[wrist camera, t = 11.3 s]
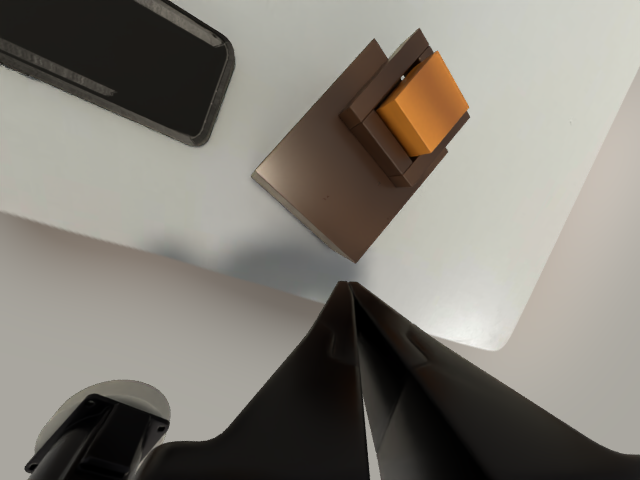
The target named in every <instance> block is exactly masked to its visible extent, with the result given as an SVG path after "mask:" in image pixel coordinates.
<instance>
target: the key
mask: <svg viewBox="0 0 640 480" xmlns="http://www.w3.org/2000/svg"><path fill="white" fill-rule="evenodd" d="M468 108H469V106H468V104H467V102H466V100H465V99H464V97H463V95H462V93H461V91H460V90H459V88H458V86H457V84H456V82H455V81H454V79H453V77H452V75H451V74H450V72H449V70H448V68H447V66H446V65H445V63H444V61H443V59H442V57H441V56H440V54H439V52H438V51H436V52H434V53H433V54H432V55H430V56H429V57H428V58H426V59H425V60H423V61H422V62H421V63H419V64H418V65H416V66H415V67H414V68H413V69H412V70H411V71H410V72H409V73H408V74H407V76H406V77H405V78H404V79H403V80H402V81H401V82H400V84H399V85H398V86H397V87H396V88H395V89H394V90H393V92H392V93H391V94H390V95H389V96H388V97H387V99H386V100H385V101H384V102H383V103H382V104H381V105H380V107H379V108H378V109H377V110H376V112H377V114H378V115H379V117H380V118H381V119H382V121H383V122H384V123H385V125H386V126H387V127H388V129H389V130H390V131H391V133H392V134H393V136H394V137H395V138H396V140H397V141H398V142H399V144H400V145H401V146H402V148H403V149H404V150H405V152H406V153H407V155H408V156H409V157H414V156H419V155H423V154H428V153H432V151H433V150H434V149H435V148H436V147H437V145H438V144H439V143H440V142H441V141H442V139H443V138H444V137H445V136H446V135H447V133H448V132H449V131H450V130H451V129H452V127H453V126H454V125H455V124H456V123H457V121H458V120H459V119H460V118H461V117H462V116H463V114H464V113H465V112H466V111H467V110H468Z"/></svg>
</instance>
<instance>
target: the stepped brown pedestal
mask: <svg viewBox="0 0 640 480" xmlns="http://www.w3.org/2000/svg"><path fill="white" fill-rule="evenodd" d="M433 53H434V52H433V51H432V49H431V47H430V46H429V44H428V42H427V40H426V38H425V37H424V35H423V33H422V31H421V29H420V28H419V29H417V30H416V31H415V32H414V33H413V34H412V35H411V36H410V37H408V38H407V39H406V40H405V41H404V42H403V43H402V44H401V45H400V46H399V47H398V48H397V50H396V51H395V52H394V53H393V54H392V55H391V56H390V57H389V59H388V58H387V57H386V55H385V54H384V52H383V51H382V49H381V48H380V46H379V44H378V43H377V41H376V40H375V39H373V40H372V41H371V42H370V43H369V44H368V45H367V47H366V48H365V49H364V50H363V51H362V52H361V53H360V54H359V55H358V57H357V58H356V59H355V60H354V61H353V62H352V63H351V64H350V65H349V67H348V68H347V69H346V70H345V71H344V72H343V73H342V74H341V75H340V76H339V78H338V79H337V80H336V81H335V82H334V83H333V84H332V85H331V86H330V88H329V89H328V90H327V91H326V92H325V93H324V94H323V95H322V96H321V98H320V99H319V100H318V101H317V102H316V103H315V104H314V105H313V106H312V107H311V109H310V110H309V111H308V112H307V113H306V114H305V115H304V116H303V117H302V119H301V120H300V121H299V122H298V123H297V124H296V125H295V126H294V127H293V129H292V130H291V131H290V132H289V133H288V134H287V135H286V136H285V137H284V139H283V140H282V141H281V142H280V143H279V144H278V145H277V146H276V147H275V148H274V150H273V151H272V152H271V153H270V154H269V155H268V156H267V157H266V158H265V160H264V161H263V162H262V163H261V164H260V165H259V166H258V167H257V168H256V170H255V171H254V172H253V174H252V175H251V177H252V178H253V179H254V180H255V181H256V182H257V183H259V184H260V185H261V186H262V187H263V188H264V189H265V190H266V191H267V192H269V193H270V194H271V195H272V196H273V197H274V198H275V199H276V200H277V201H279V202H280V203H281V204H282V205H283V206H284V207H285V208H286V209H287V210H289V211H290V212H291V213H292V214H293V215H294V216H295V217H296V218H297V219H298V220H300V221H301V222H302V223H303V224H304V225H305V226H306V227H307V228H308V229H310V230H311V231H312V232H313V233H314V234H315V235H316V236H317V237H318V238H320V239H321V240H322V241H323V242H324V243H325V244H326V245H327V246H328V247H329V248H331V249H332V250H334V251H335V252H337V253H339V254H340V255H342V256H344V257H345V258H347V259H349V260H350V261H352V262H354V263H355V264H356V263H357V262H358V260H359V259H360V258H361V257H362V256H363V254H364V253H365V252H366V251H367V249H368V248H369V247H370V246H371V245H372V243H373V242H374V241H375V240H376V239H377V237H378V236H379V235H380V234H381V233H382V231H383V230H384V229H385V228H386V227H387V225H388V224H389V223H390V222H391V220H392V219H393V218H394V217H395V216H396V214H397V213H398V212H399V211H400V210H401V208H402V207H403V206H404V205H405V204H406V202H407V201H408V200H409V199H410V197H411V196H412V195H413V194H414V193H415V191H416V190H417V189H418V188H419V187H420V185H421V184H422V183H423V182H424V181H425V179H426V178H427V177H428V176H429V175H430V173H431V172H432V171H433V170H434V168H435V167H436V166H437V165H438V164H439V162H440V161H441V160H442V159H443V158H444V156H445V155H446V154H447V153H448V151H447V149H446V146H447V144H448V143H449V142H450V141H451V140H452V138H453V137H454V136H455V135H456V134H457V132H458V131H459V130H460V129H461V128H462V126H463V125H464V124H465V123H466V122H467V120H468V119H469V118H470V116H469V114H468V112H467V111H466V112H465V113H464V114H463V116H462V117H461V118H460V119H459V120H458V121H457V123H456V124H455V125H454V126H453V127H452V129H451V130H450V131H449V132H448V133H447V135H446V136H445V137H444V138H443V139H442V141H441V142H440V143H439V144H438V145H437V147H436V148H435V149H434V150H433V151H432V153H428V154H423V155H419V156H414V157H409V156H408V155H407V153H406V152H405V150H404V149H403V148H402V146H401V145H400V144H399V142H398V141H397V140H396V138H395V137H394V136H393V134H392V133H391V131H390V130H389V129H388V127H387V126H386V125H385V123H384V122H383V121H382V119H381V118H380V117H379V115H378V114H377V112H376V110H377V109H378V108H379V107H380V105H381V104H382V103H383V102H384V101H385V100H386V99H387V97H388V96H389V95H390V94H391V93H392V92H393V90H394V89H395V88H396V87H397V86H398V85H399V84H400V82H401V81H402V80H401V77H402V76H403V75H404V77H406V76H407V74H408V73H409V72H410V71H411V70H412V69H413V68H414V67H415V66H416V65H418V64H419V63H421V62H422V61H423V60H425V59H426V58H428V57H429V56H430V55H432V54H433Z"/></svg>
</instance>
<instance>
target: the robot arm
mask: <svg viewBox="0 0 640 480" xmlns="http://www.w3.org/2000/svg"><path fill="white" fill-rule="evenodd" d="M362 394H363V395H362ZM363 398H364V402H365V407H366V411H367V415H368V420H369V424H370V429H371V432H372V437H373V442H374V446H375V450H376V453H377V459H378V464H379V470H380V476H381V480H640V455H630V454H622V453H619V452H615V451H612V450H610V449H608V448H606V447H604V446H601V445H599V444H598V443H596V442H594V441H592V440H591V439H589V438H588V437H586V436H584V435H583V434H581V433H580V432H578V431H577V430H575V429H573V428H572V427H570V426H569V425H567V424H566V423H564V422H563V421H561V420H560V419H558V418H556V417H555V416H553V415H552V414H550V413H548V412H547V411H546V410H544V409H542V408H541V407H539V406H538V405H536V404H534V403H533V402H532V401H530V400H528V399H527V398H525V397H524V396H522V395H521V394H519V393H518V392H516V391H514V390H513V389H511V388H510V387H508V386H507V385H505V384H503V383H502V382H500V381H499V380H497V379H496V378H494V377H492V376H491V375H489V374H488V373H486V372H485V371H483V370H481V369H480V368H478V367H477V366H475V365H474V364H472V363H471V362H469V361H468V360H466V359H465V358H462V357H461V356H460V355H458V354H457V353H455V352H454V351H452V350H451V349H449V348H447V347H446V346H444V345H443V344H441V343H440V342H438V341H437V340H435V339H434V338H432V337H431V336H430V335H428V334H427V333H425V332H424V331H423V330H421V329H420V328H419V327H417V326H416V325H415V324H412V323H411V322H410V321H409V320H407V319H406V318H405V317H403V316H402V315H401V314H399V313H398V312H397V311H395V310H394V309H393V308H391V307H390V306H389V305H387V304H386V303H385V302H383V301H382V300H381V299H379V298H378V297H377V296H375V295H374V294H373V293H371V292H370V291H369V290H367V289H366V288H365V287H363V286H362V285H361V284H359V283H358V282H347V281H338V283H337V285H336V286H335V288H334V290H333V291H332V293H331V295H330V297H329V298H328V300H327V302H326V304H325V305H324V307H323V309H322V311H321V312H320V314H319V316H318V318H317V320H316V321H315V322H314V324H313V326H312V327H311V329H310V330H309V332H308V333H307V335H306V336H305V337H304V338H303V340H302V341H301V342H300V343H299V345H298V346H297V347H296V348H295V349H294V351H293V352H292V353H291V354H290V355H289V356H288V357H287V359H286V360H285V361H284V362H283V363H282V365H281V366H280V367H279V368H278V369H277V370H276V372H275V373H274V374H273V375H272V376H271V377H270V379H269V380H268V381H267V382H266V383H265V385H264V386H263V387H262V388H261V389H260V390H259V392H258V393H257V394H256V395H255V396H254V397H253V399H252V400H251V401H250V402H249V403H248V405H247V406H246V407H245V408H244V409H243V410H242V412H241V413H240V414H239V415H238V416H237V417H236V419H235V420H234V421H233V422H232V423H231V424H230V426H229V427H228V428H227V429H226V430H225V431H224V432H223V433H222V434H220V435H218V436H217V437H215V438H213V439H210V440H207V441H200V442H198V441H196V442H195V441H175V442H168V443H164V444H161V445H159V446H157V447H155V448H154V449H152V448H153V447H154V446H155V445H156V444H157V442H158V441H159V440H160V439H161V438H162V436H163V435H164V434H165V433H166V432H167V430H168V428H169V424H170V422H169V421H168V420H167V419H164V418H161V417H159V416H156V415H153V414H151V413H148V412H145V411H142V410H140V409H137V408H134V407H132V406H129V405H126V404H124V403H121V402H118V401H116V400H113V399H110V398H108V397H105V396H102V395H99V394H96V393H94V394H90V395H88V396H86V397H85V399H84V400H83V401H82V402H81V403H80V404H79V405H78V406H77V408H76V409H75V410H74V411H73V412H72V413H71V414H70V415H69V417H68V418H67V419H66V420H65V421H64V422H63V423H62V424H61V426H60V427H59V428H58V429H57V430H56V431H55V432H54V433H53V435H52V436H51V437H50V438H49V439H48V440H47V441H46V442H45V444H44V445H43V446H42V447H41V448H40V449H39V450H38V451H37V453H36V454H35V455H34V456H33V457H32V458H31V459H30V461H29V462H28V463H27V465H26V466H25V471H26V472H28V473H31V476H30V477H29V479H28V480H370V474H369V462H368V452H367V440H366V429H365V418H364V407H363ZM90 401H93V402H90ZM161 426H164V427H161ZM151 449H152V450H151ZM147 454H148V455H147ZM146 455H147V456H146ZM144 458H145V459H144ZM143 459H144V460H143ZM142 460H143V462H142V464H141V466H140V467H139V468H138V470H137V467H138V465H139V464H140V462H141V461H142ZM136 470H137V472H136ZM135 473H136V474H135Z"/></svg>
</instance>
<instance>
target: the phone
mask: <svg viewBox="0 0 640 480" xmlns="http://www.w3.org/2000/svg"><path fill="white" fill-rule="evenodd" d="M0 63H1V64H5V65H7V67H9V68H11V69H13V70H16V71H18V72H20V73H23V74H25V75H27V76H29V75H30V76H32V77H35V78H37V79H39V80H41V81H44V82H46V83H48V84H51V85H53V86H55V87H57V88H60V89H62V90H64V91H67V92H69V93H71V94H73V95H76V96H78V97H80V98H83V99H85V100H87V101H89V102H92V103H94V104H96V105H99V106H101V107H103V108H105V109H108V110H110V111H112V112H115V113H117V114H119V115H121V116H124V117H126V118H128V119H131V120H133V121H135V122H137V123H140V124H142V125H144V126H147V127H149V128H151V129H153V130H156V131H158V132H160V133H163V134H165V135H167V136H169V137H172V138H174V139H176V140H179V141H181V142H183V143H185V144H188V145H191V146H200V145H203V144H204V143H205V142H207V140H208V138H209V136H210V134H211V131H212V128H213V125H214V122H215V120H216V117H217V114H218V111H219V108H220V106H221V103H222V100H223V97H224V94H225V92H226V89H227V86H228V83H229V81H230V78H231V75H232V72H233V69H234V65H235V56H234V49H233V46H232V44H231V42H230V41H229V40H228V38H226V37H225V36H224V35H223V34H221V33H220V32H218V31H217V30H215V29H213V28H212V27H210V26H209V25H207V24H205V23H204V22H202V21H201V20H199V19H198V18H196V17H194V16H193V15H191V14H190V13H188V12H186V11H185V10H183V9H182V8H180V7H178V6H177V5H175V4H174V3H172V2H171V1H169V0H0Z"/></svg>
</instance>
